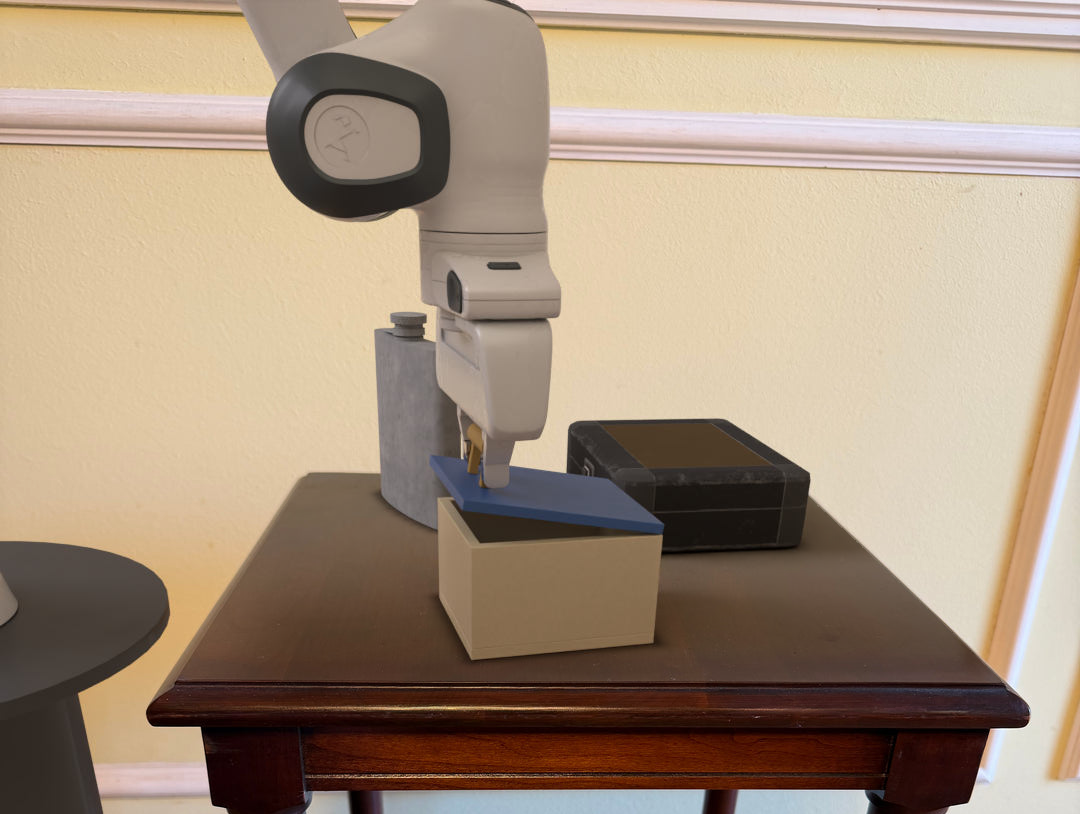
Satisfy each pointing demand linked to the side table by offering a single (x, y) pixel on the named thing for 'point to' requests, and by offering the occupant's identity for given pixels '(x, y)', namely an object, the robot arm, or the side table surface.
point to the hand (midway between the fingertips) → (485, 474)
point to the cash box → (697, 480)
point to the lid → (541, 494)
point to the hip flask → (412, 418)
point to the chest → (544, 583)
